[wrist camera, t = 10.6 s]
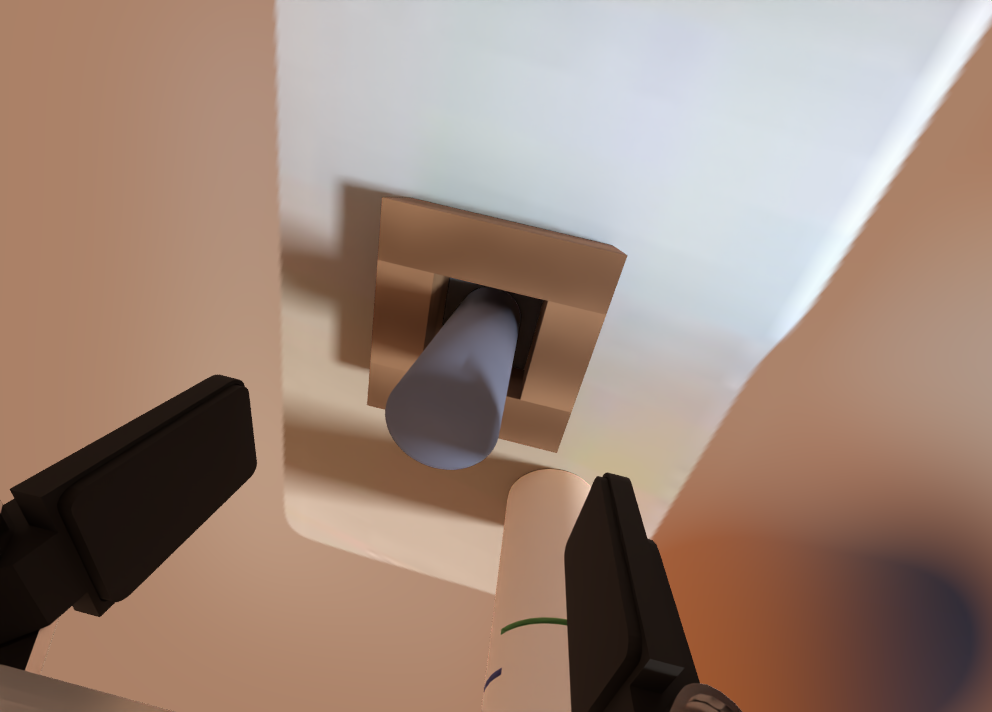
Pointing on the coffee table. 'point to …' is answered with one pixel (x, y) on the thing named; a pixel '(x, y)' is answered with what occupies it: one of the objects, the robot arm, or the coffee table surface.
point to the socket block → (498, 264)
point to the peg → (458, 385)
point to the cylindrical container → (533, 596)
